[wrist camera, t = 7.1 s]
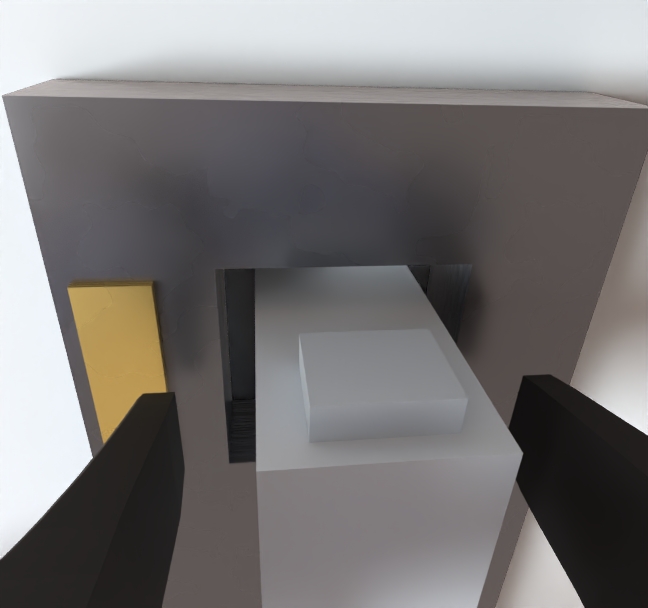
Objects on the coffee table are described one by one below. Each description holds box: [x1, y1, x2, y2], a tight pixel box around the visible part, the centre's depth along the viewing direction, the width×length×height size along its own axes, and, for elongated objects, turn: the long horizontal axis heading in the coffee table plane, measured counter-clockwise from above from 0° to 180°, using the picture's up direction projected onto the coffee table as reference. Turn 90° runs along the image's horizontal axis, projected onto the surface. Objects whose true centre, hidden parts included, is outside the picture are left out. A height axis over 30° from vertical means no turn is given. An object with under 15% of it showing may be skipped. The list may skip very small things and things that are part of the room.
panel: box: [2, 79, 648, 608], centre depth 16 cm, size 12×24×3 cm, turn 178°
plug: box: [255, 265, 523, 608], centre depth 11 cm, size 4×5×7 cm
